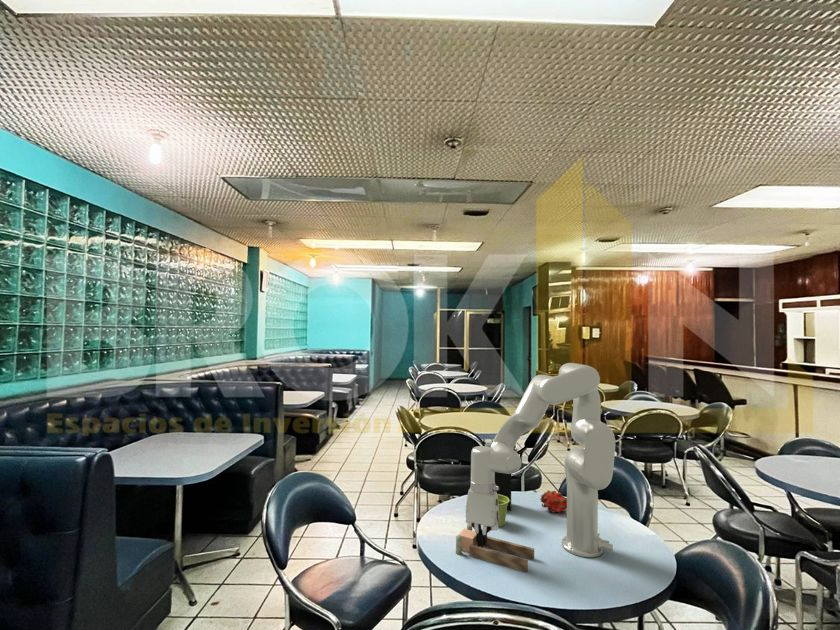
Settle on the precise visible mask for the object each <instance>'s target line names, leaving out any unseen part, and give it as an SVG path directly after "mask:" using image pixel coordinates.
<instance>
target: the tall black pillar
mask: <svg viewBox="0 0 840 630" xmlns="http://www.w3.org/2000/svg"><path fill="white" fill-rule="evenodd" d="M492 442H493V440H492V441H491V443H492ZM494 482H495V485H496V486H499V490H498V491H497V490H496V492H497V494H499V495H503V496H506V497H508V498H509V500H510V501H509V503H508V506H507V511H506V512H511V511H512V474H505V473H499V472H495V478H494Z"/></svg>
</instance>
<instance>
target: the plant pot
mask: <svg viewBox="0 0 840 630" xmlns="http://www.w3.org/2000/svg"><path fill="white" fill-rule="evenodd" d="M497 495H498V502H499V522H498V526H499V527H501V526H502V527H503V526H504V525H505V523H506V518H507V517H506V516H507V512H508V511H507V506H508V503H509V501H510V500H509V498H508V497H506V496H503V495H499V494H497Z"/></svg>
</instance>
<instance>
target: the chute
mask: <svg viewBox="0 0 840 630" xmlns="http://www.w3.org/2000/svg"><path fill="white" fill-rule="evenodd" d="M466 529H467V530H471V531H473V527H472V525H469V524H466ZM462 551H463V550H462V536H460V535H459V534H458V535H456V536H455V554H457V555H462ZM468 557H472V558H475V559H479V560H482V561H486V562H489V563H493V564H495V565H500V566H503V567H506V568H510V569H514V570H516V571H521V572H524V573H528V571H529V560H532V561H534V560H535V548H533V547H530V546H525V545H522V544H518V543H514V542H510V541H507V540H503V539H499V538H496V537H495V538H494V537H491V536H488V535H487V543H486V544H485V545H484V547H483V548H482V547H478V546H475V545H470V546H469V552H468Z"/></svg>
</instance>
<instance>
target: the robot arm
mask: <svg viewBox="0 0 840 630" xmlns="http://www.w3.org/2000/svg"><path fill="white" fill-rule="evenodd" d="M599 374H600V373H599V372H598V371H597V369H596V368H595V367H592V366H590V365H587V364H581V363H576V362H567V363H564V364H563V365H561V366H560V368H559V370H558V375H555V376H554V375H553V376H551V375H548V374H538V375H535V376H534V377H533V378H532V379H531V381H530V382H529V384H528V386H527V387H526V389H525V391H524V393H523V395H522V397H521V399H520V401H519V403H518V405H517V407H516V408H515V411H514V412H513V414H511V416H510V417H509V418H507V420H506V421H505V422H504V423H503V424H502V425H501V426H500V428H499V430H498V431H497V433H496V434H495V437H494V439H493V440H492V441H493V442H492V441H491V445H490V447H489V446H485V445H484V446H483V445H478V446H474V447H472V449H471V453H470V487H469V489H468V492H467V498H466V505H465V523H466V525H468V524H469V525H472V529H474V530H473V531H475V532H476V542H478V547H482V548H485V547H484V545H485V544H486V543H487V536H488V533H490V532H491V531H494V532H495V531H498V530H499V527H500V526H498V522H499V502H498V495H497V492H496V490H497V491H498V490H499V486H496V485H495V482H494V478H495V472H499V473H505V474H511V475H513V474H515V473H517V472H518V471H519V470H520V469H521V467H522V459H521V456H520V455H519V453H518V452H517V451H516V450H514V448H515V446H516V444H517V442H518V441H519V439H520V438H521V437H523V435H524V434H525V433H527V432H529V431H533V430H534V429H536V428H538V427H539V425H540V424H541V422H542V420H543V417H544V416H545V414H546V412H547V410H548V408H549V406H550V405H552V406H553V405H555V406H556V405H560V404H563V403H567V402H569V401H572V400H573V404H572V407H573V408H572V417H571V418H572V419H571V430H570V434H571V437H572V439H573V441H574V442H576V443H577V444H578V445H580V446H582V447H583V448H582V447H575V448H572V449H571V450H569V451H568V452H567V454H566V455H565V458H564V461H563V462H564V471H565V472H564V473H565V482H566V498H567V509H566V535H565V536H563V537H562V539H561V547H563V549H564V550H566V551H567V552H569V553H570V554H572V555H575V556H578V557H583V558H597V557H599V556H601V555H602V554H603V553H604V550H607V551H611V552H613V549H614V545H613V543H610V541H609V540H606V539H602V538H601V537H600V536H601V535H600V532H599V531H598V529H599V527H598V525H599V523H598V522H599V521H598V520H599V519H598V518H599V511H598V510H599V506H598V505H599V493H598V492H599V491H600V490H604V489H606V488H607V487H608V486H609V485H610V483H611V482H612V479H613V474H614V465H615V456H616V453H615V452H616V438H615V434H614V431H613V430H612V428H611V427H610V426H609V425H607V424H606V423H605V422H602V421H601V407H602V403H601V402H602V400H601V396H600V392H599V389H598V387H599V385H600V382H601V379H600V378H601V376H600V375H599ZM598 532H599V533H598Z"/></svg>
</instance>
